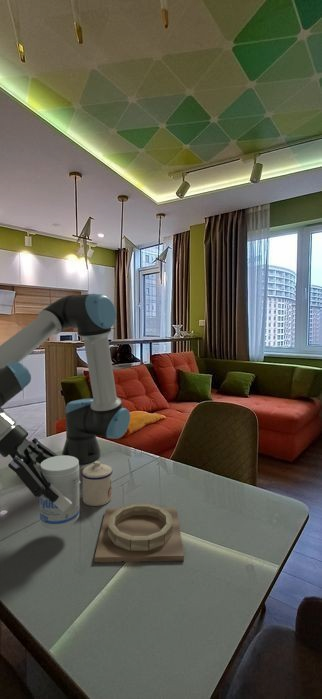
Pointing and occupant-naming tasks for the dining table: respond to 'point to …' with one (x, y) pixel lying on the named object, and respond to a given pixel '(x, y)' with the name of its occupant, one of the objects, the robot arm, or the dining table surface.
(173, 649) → the dining table surface
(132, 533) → the ring holder
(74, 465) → the supplement tub
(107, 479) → the teacup with lid
